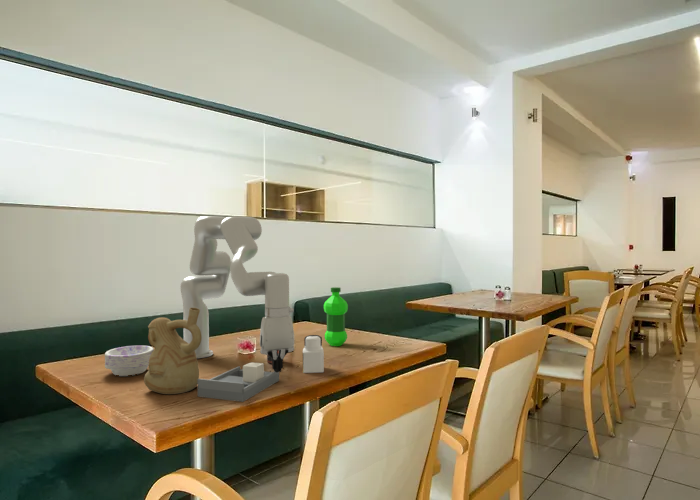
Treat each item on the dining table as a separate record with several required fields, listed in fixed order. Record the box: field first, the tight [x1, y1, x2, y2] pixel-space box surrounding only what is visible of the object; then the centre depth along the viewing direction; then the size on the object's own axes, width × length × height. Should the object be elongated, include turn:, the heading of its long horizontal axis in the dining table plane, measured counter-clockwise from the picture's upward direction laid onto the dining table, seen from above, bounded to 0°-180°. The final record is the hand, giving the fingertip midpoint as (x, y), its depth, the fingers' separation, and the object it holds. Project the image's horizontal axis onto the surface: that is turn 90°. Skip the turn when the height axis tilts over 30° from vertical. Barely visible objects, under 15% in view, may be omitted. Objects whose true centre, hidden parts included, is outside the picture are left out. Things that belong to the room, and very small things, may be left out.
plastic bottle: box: [323, 286, 349, 347], centre depth 202 cm, size 10×10×25 cm
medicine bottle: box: [302, 334, 325, 374], centre depth 161 cm, size 7×7×12 cm
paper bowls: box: [104, 345, 155, 377], centre depth 159 cm, size 15×15×8 cm
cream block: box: [242, 362, 265, 382], centre depth 141 cm, size 5×5×5 cm
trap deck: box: [197, 365, 280, 403], centre depth 141 cm, size 15×22×5 cm
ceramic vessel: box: [143, 308, 202, 395], centre depth 140 cm, size 17×20×25 cm
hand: (277, 371), depth 145 cm, fingers closed
